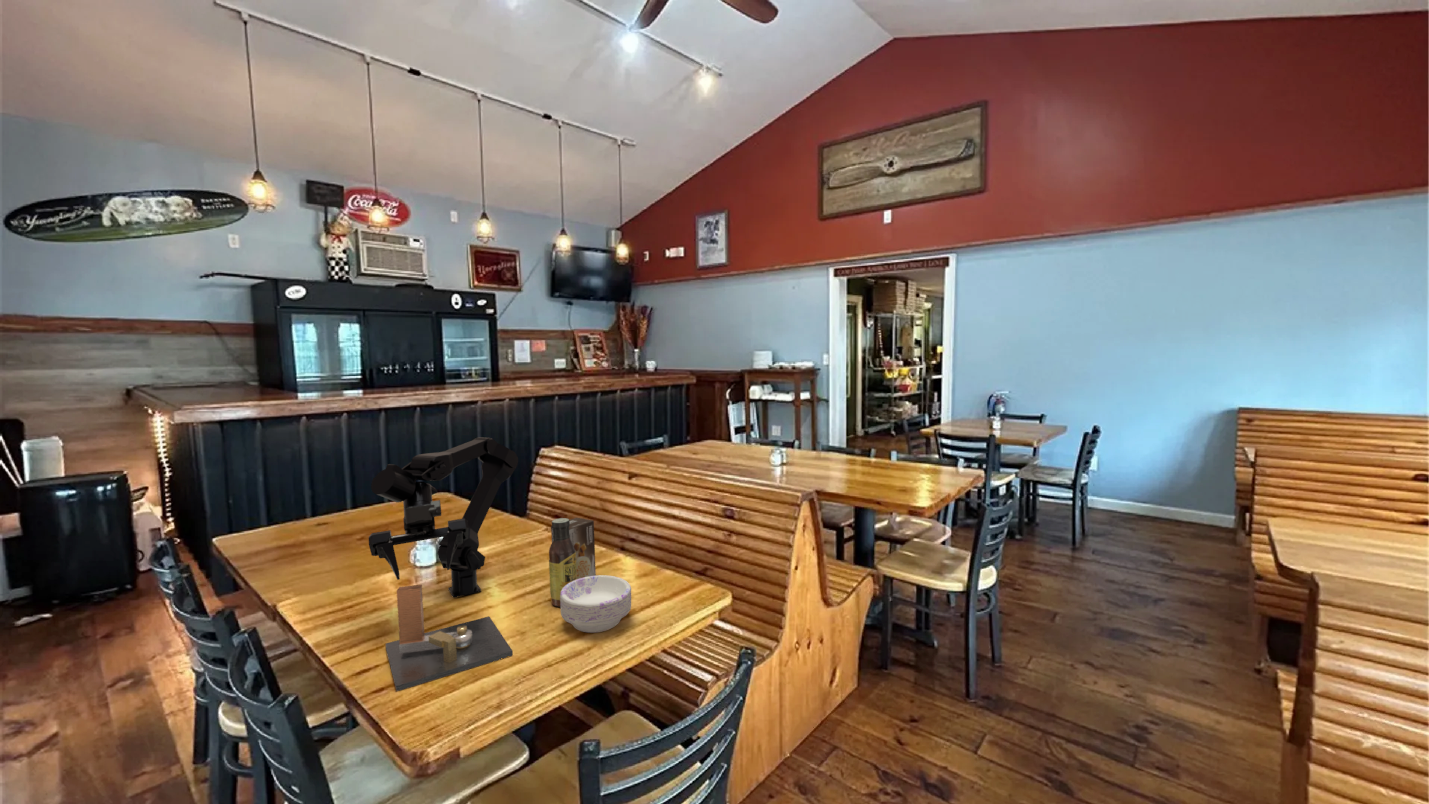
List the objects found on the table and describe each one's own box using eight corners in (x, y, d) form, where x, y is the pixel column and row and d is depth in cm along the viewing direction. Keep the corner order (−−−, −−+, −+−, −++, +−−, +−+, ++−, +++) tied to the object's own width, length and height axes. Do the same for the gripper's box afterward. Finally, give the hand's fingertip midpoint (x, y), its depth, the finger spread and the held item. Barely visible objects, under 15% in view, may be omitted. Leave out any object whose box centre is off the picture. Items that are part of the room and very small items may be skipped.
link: (473, 636, 115) (470, 577, 114) (470, 645, 111) (468, 584, 110) (403, 645, 111) (400, 585, 110) (398, 655, 108) (395, 592, 107)
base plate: (385, 648, 114) (385, 643, 114) (489, 620, 125) (489, 616, 125) (396, 691, 99) (396, 686, 99) (512, 655, 111) (512, 650, 110)
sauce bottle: (571, 609, 130) (565, 525, 128) (546, 607, 132) (540, 524, 130) (583, 596, 137) (578, 516, 135) (559, 595, 138) (554, 516, 136)
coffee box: (578, 575, 151) (577, 516, 149) (596, 580, 147) (595, 520, 146) (552, 587, 143) (550, 525, 141) (570, 593, 139) (568, 529, 138)
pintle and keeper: (471, 645, 114) (470, 621, 114) (465, 665, 107) (464, 640, 107) (434, 650, 113) (432, 626, 112) (425, 671, 105) (424, 645, 105)
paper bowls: (618, 643, 115) (617, 605, 114) (548, 637, 118) (547, 600, 117) (640, 609, 130) (640, 576, 129) (578, 605, 133) (577, 572, 132)
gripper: (364, 496, 115) (366, 568, 106) (464, 482, 123) (473, 548, 115) (370, 521, 123) (372, 590, 114) (464, 507, 131) (472, 570, 123)
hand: (423, 574), depth 117 cm, fingers open, 9 cm apart
